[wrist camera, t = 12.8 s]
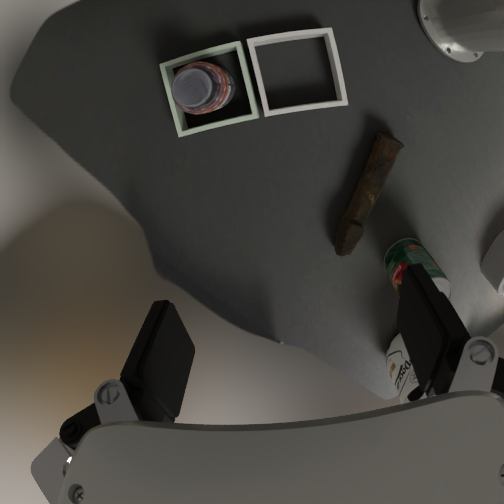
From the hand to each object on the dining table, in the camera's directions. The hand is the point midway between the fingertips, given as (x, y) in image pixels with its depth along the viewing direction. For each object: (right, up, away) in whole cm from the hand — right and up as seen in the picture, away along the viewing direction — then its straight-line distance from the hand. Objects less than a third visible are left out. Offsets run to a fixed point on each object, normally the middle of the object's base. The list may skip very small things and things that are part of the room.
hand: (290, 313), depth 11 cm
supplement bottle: (-6, +24, +22) cm, 33 cm away
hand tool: (+15, +11, +28) cm, 34 cm away
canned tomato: (+24, +1, +33) cm, 41 cm away
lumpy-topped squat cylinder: (+49, +3, +30) cm, 58 cm away
